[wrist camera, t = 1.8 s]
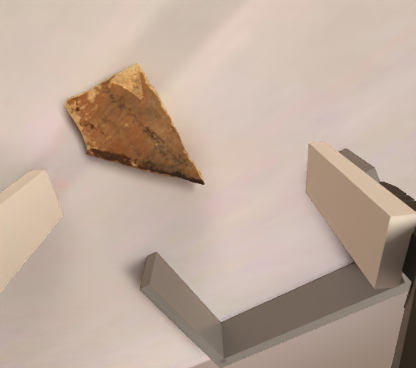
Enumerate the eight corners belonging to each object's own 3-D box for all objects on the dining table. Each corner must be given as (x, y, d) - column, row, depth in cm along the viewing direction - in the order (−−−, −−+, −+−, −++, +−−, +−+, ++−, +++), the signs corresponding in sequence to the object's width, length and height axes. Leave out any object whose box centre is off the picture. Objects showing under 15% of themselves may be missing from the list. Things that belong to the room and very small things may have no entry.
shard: (205, 177, 26) (205, 186, 24) (133, 209, 27) (128, 219, 25) (143, 59, 21) (138, 60, 20) (61, 104, 23) (50, 108, 21)
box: (147, 256, 30) (139, 289, 26) (346, 148, 25) (374, 167, 21) (217, 331, 36) (220, 368, 32) (391, 254, 31) (420, 285, 27)
